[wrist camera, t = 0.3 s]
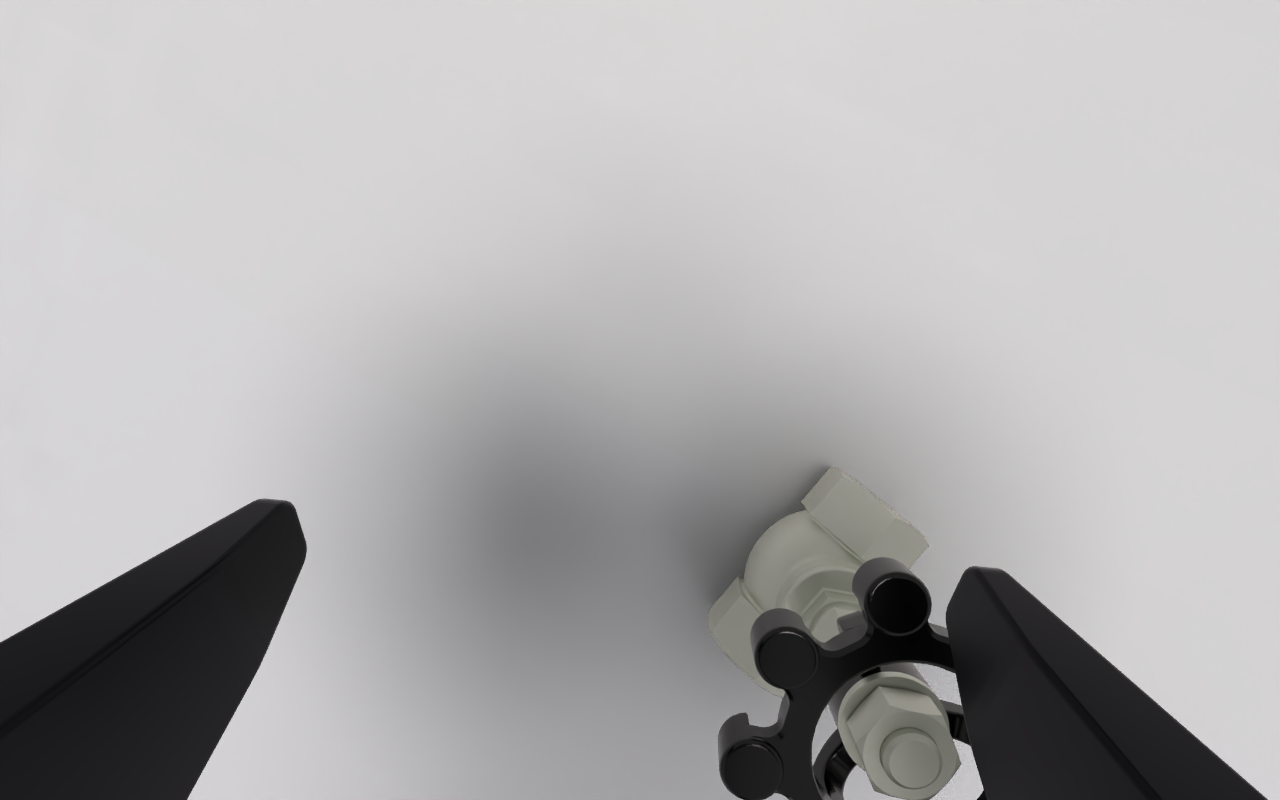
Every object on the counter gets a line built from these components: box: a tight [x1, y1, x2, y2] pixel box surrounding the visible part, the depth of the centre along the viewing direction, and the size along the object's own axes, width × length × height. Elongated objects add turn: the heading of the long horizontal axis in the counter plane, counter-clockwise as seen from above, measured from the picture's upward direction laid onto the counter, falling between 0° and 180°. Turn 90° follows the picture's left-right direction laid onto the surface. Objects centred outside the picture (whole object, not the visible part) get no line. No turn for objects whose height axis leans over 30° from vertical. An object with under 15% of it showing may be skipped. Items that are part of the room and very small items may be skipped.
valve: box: [708, 467, 987, 800], centre depth 17 cm, size 7×7×12 cm
